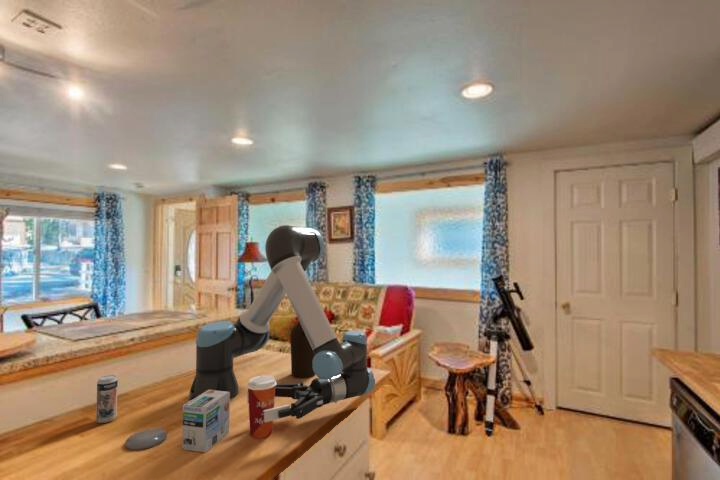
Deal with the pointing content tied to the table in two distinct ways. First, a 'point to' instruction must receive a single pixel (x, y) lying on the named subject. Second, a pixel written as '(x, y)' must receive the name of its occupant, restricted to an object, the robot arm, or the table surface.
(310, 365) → the olive oil
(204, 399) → the light bulb box
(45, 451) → the table surface
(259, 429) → the paper cup
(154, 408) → the table surface
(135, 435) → the slate coaster
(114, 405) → the beer can
